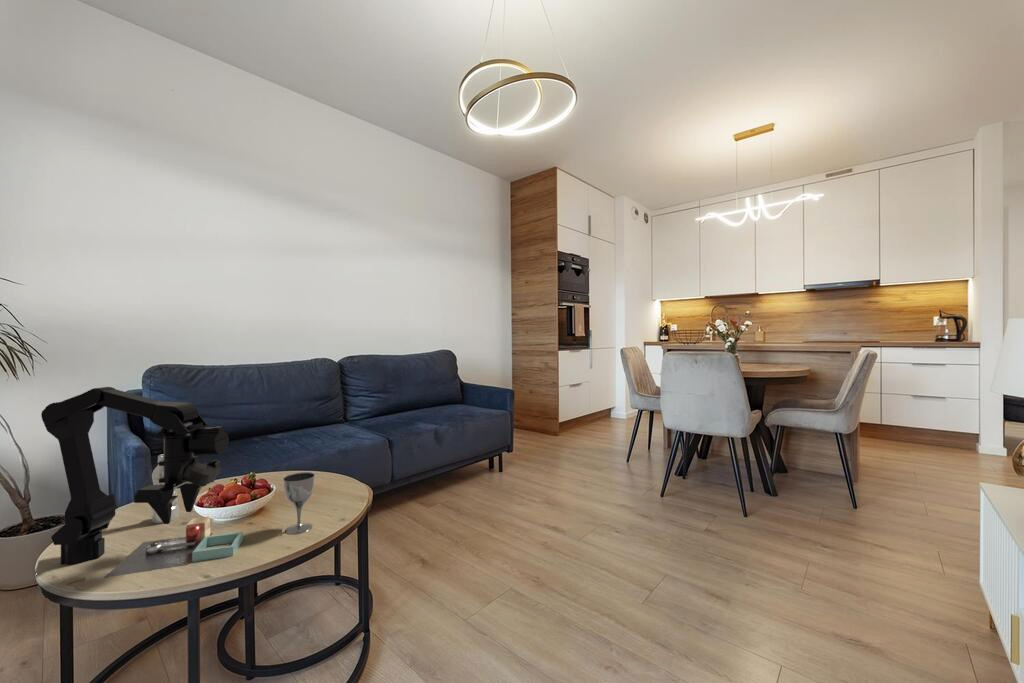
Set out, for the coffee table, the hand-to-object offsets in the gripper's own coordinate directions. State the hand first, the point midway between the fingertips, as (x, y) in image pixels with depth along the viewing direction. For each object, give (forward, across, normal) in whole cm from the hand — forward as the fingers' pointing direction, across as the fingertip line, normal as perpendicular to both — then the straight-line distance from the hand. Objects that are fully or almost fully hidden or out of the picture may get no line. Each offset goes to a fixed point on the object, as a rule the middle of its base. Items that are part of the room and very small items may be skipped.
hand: (178, 517), depth 100 cm
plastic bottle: (+10, +21, +20) cm, 30 cm away
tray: (+10, +2, -9) cm, 13 cm away
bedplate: (+10, +1, +4) cm, 11 cm away
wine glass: (+10, +15, -22) cm, 29 cm away
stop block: (+9, +8, +1) cm, 12 cm away
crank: (+9, +3, +3) cm, 10 cm away
